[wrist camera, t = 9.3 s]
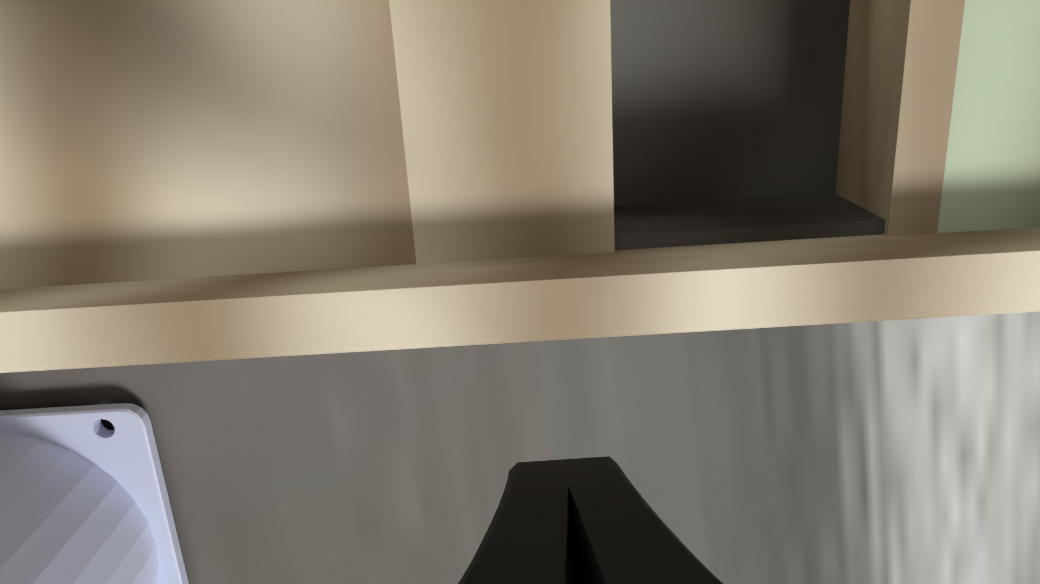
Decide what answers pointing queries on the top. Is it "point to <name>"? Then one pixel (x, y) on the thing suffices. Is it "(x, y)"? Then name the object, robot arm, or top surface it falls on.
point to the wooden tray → (504, 171)
